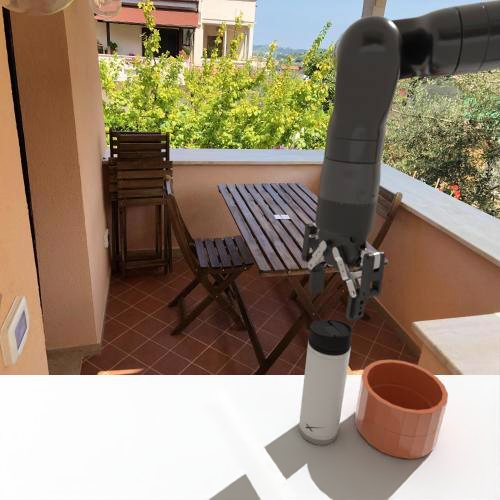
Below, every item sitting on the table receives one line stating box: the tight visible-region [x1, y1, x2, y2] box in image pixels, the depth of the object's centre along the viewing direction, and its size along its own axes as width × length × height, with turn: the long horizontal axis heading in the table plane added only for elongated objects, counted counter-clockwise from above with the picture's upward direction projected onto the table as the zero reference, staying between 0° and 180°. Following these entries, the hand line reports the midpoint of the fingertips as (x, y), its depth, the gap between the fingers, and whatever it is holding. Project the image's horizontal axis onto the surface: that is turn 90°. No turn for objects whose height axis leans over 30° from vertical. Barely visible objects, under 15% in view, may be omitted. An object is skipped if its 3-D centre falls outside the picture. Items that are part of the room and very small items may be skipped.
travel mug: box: [298, 318, 354, 446], centre depth 66 cm, size 6×7×20 cm
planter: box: [354, 359, 449, 460], centre depth 69 cm, size 13×13×9 cm
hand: (333, 305), depth 61 cm, fingers open, 8 cm apart
